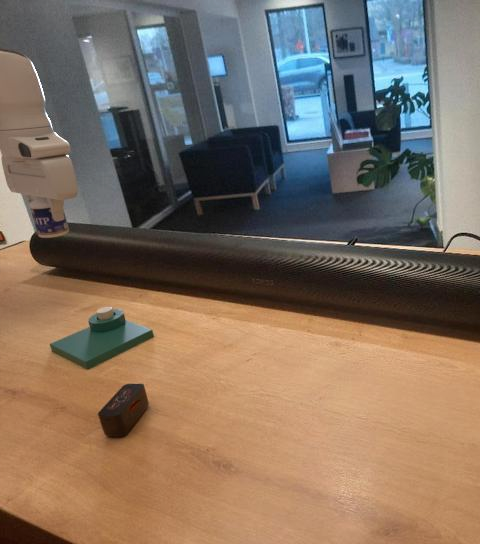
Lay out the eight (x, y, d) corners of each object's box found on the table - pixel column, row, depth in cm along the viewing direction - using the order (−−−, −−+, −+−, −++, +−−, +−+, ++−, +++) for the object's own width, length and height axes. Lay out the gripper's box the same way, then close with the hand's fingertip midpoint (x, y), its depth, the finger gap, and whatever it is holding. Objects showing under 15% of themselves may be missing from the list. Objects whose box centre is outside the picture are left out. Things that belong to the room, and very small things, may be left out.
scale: (50, 351, 78) (45, 334, 77) (116, 322, 87) (112, 306, 86) (88, 370, 72) (82, 352, 71) (155, 336, 81) (151, 320, 80)
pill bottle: (31, 237, 94) (17, 191, 91) (55, 229, 99) (42, 185, 96) (53, 239, 93) (40, 192, 89) (76, 230, 97) (64, 186, 94)
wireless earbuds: (154, 400, 64) (148, 379, 63) (125, 438, 57) (118, 415, 56) (120, 400, 65) (114, 379, 63) (87, 438, 58) (80, 415, 57)
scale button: (95, 319, 82) (93, 311, 82) (109, 313, 84) (107, 305, 83) (103, 322, 81) (101, 313, 80) (117, 316, 83) (114, 308, 82)
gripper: (-16, 145, 93) (7, 216, 98) (36, 148, 82) (59, 229, 87) (21, 140, 97) (41, 209, 103) (74, 143, 87) (94, 220, 92)
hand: (49, 218), depth 95 cm, fingers closed on pill bottle, 5 cm apart
